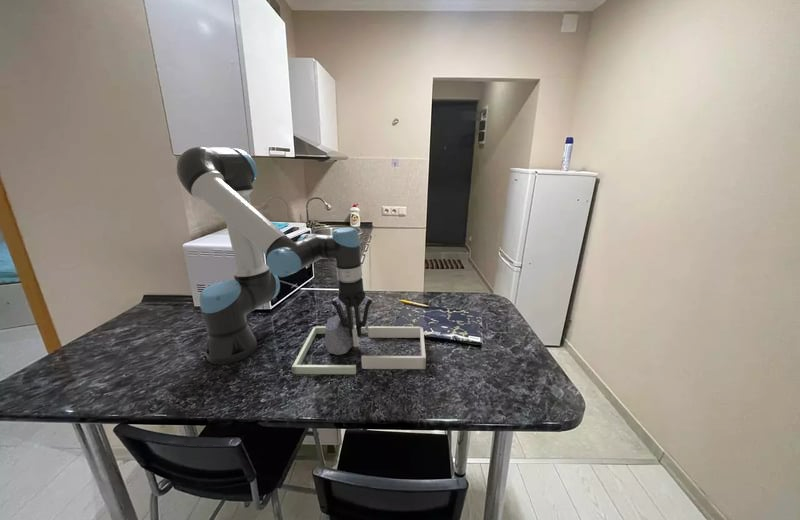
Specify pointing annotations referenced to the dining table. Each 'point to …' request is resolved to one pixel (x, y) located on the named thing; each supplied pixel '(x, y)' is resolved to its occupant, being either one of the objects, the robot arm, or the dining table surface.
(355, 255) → the robot arm
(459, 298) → the dining table surface
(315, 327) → the pale green u-shaped frame
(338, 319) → the stone
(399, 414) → the dining table surface
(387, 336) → the frame
